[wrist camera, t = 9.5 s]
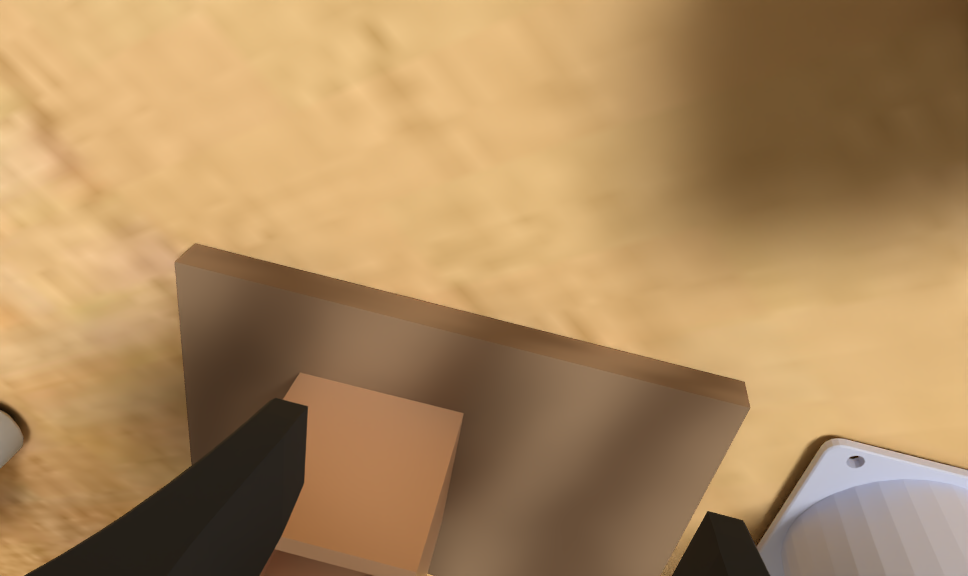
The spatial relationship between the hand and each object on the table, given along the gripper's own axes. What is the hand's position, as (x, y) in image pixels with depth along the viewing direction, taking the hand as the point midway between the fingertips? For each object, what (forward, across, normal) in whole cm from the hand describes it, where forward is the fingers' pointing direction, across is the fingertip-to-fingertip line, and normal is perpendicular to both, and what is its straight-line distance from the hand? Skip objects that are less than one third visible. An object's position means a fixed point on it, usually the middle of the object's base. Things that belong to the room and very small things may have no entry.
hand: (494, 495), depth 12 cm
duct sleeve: (+8, +4, +9) cm, 13 cm away
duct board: (+9, +2, +9) cm, 13 cm away
